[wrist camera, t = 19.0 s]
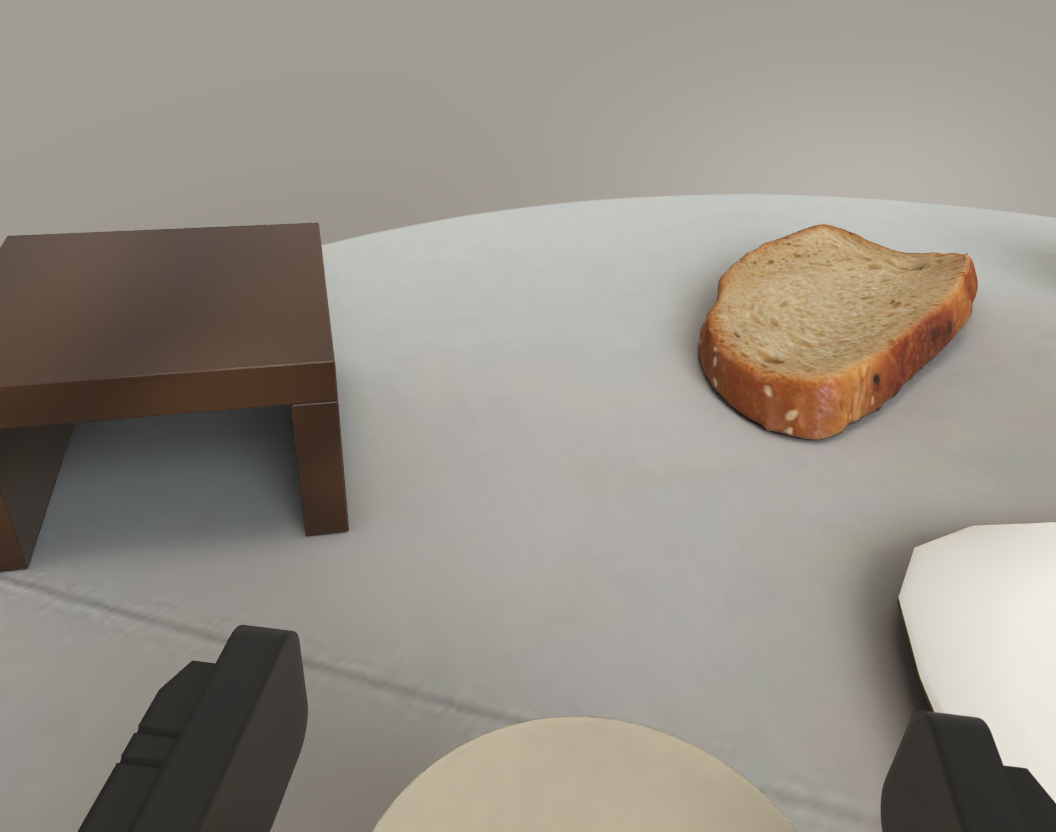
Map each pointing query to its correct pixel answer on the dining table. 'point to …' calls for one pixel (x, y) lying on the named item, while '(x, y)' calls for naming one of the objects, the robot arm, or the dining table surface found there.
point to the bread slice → (829, 327)
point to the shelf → (162, 350)
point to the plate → (990, 635)
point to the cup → (580, 784)
